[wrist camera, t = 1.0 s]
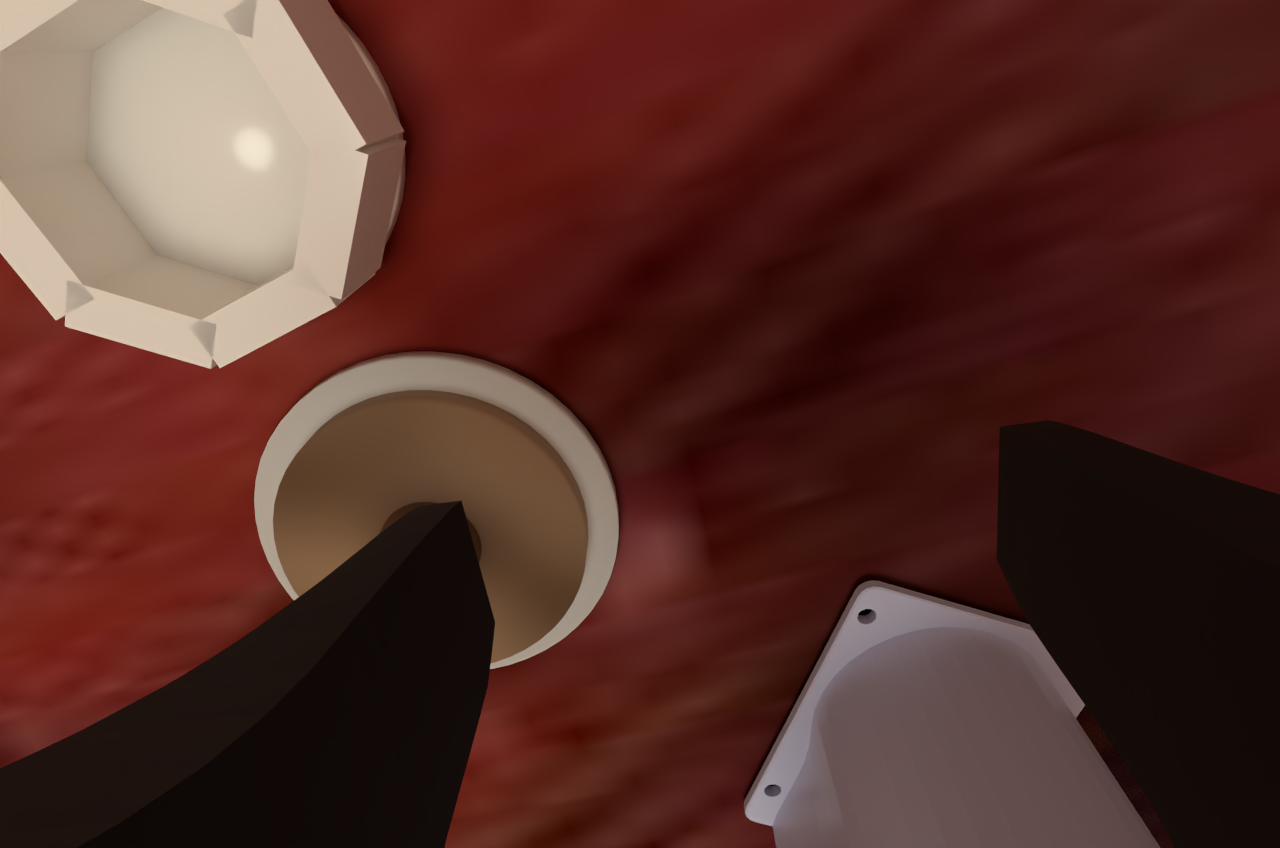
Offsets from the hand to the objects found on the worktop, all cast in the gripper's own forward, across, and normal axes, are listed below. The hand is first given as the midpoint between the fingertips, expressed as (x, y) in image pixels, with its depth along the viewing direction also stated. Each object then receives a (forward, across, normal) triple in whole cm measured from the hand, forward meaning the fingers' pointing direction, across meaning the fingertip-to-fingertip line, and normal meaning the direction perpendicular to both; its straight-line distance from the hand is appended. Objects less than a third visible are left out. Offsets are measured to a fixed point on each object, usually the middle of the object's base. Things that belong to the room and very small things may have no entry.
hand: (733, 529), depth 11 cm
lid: (+9, +7, +5) cm, 13 cm away
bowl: (+10, +10, -6) cm, 15 cm away
